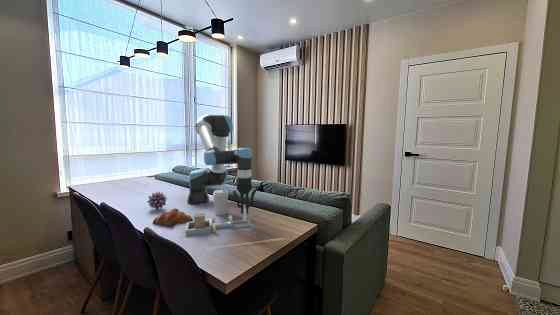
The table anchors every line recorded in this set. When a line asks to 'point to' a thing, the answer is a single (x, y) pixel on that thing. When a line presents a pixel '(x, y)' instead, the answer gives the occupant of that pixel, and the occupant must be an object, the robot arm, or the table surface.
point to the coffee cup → (220, 201)
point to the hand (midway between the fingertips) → (244, 219)
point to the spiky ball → (157, 200)
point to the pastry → (172, 218)
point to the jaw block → (199, 220)
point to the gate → (222, 224)
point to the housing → (237, 227)
